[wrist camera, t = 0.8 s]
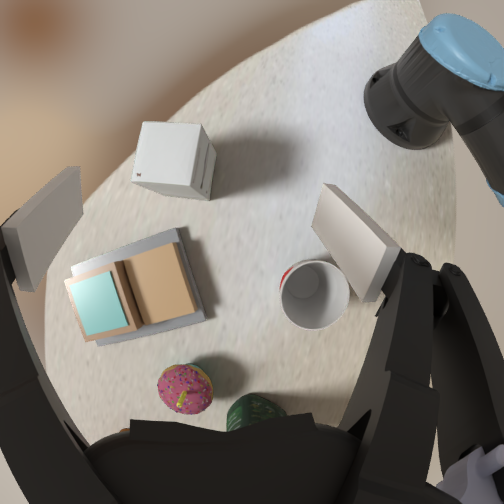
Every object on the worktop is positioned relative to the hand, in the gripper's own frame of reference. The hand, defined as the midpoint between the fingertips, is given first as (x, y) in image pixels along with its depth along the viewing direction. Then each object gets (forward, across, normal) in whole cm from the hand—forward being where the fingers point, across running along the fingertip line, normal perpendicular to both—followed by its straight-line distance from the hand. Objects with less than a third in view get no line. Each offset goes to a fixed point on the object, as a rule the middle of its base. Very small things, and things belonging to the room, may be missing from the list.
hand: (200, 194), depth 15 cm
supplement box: (+28, 0, -8) cm, 29 cm away
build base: (+21, -8, -25) cm, 34 cm away
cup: (+17, +16, -19) cm, 30 cm away
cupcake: (+13, +1, -36) cm, 38 cm away
